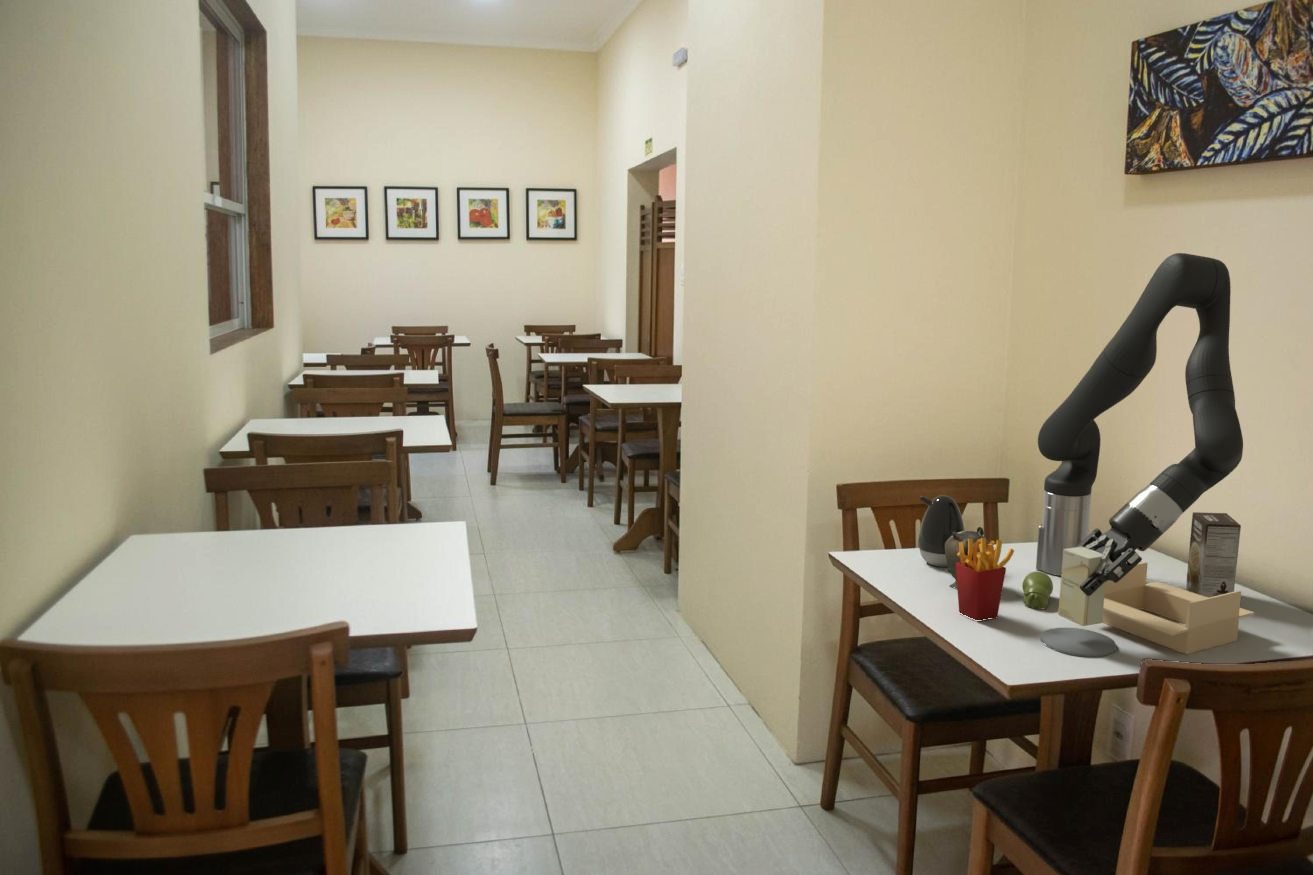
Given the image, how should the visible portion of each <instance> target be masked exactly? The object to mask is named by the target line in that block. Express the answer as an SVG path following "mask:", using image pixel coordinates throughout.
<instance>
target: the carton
mask: <svg viewBox="0 0 1313 875" xmlns="http://www.w3.org/2000/svg"><path fill="white" fill-rule="evenodd" d="M1148 565H1149V564H1148V561H1144V562H1139V563H1138V564H1137V565H1136V566H1135V567H1134V568H1133V569H1132V570H1131V571H1129V572H1128V573H1127V574H1126V575H1125V576H1124V577H1123V578H1122V579H1121V580H1119V581H1118V582H1117V583H1114V582H1113V581H1109V582H1106V583H1105V594H1104V606H1103V617H1102V623H1103V624H1106V625H1109V626H1112V627H1114V628H1116V629H1119V630H1121V631H1124V632H1127V633H1130V634H1131V635H1134V636H1137V637H1140V638H1142V639H1145V640H1148V641H1151V642H1153V643H1156V644H1158V645H1161V646H1163V647H1166V648H1169V649H1171V650H1173V651H1176V652H1179V653H1182V654H1184V655H1190V654H1194V653H1197V652H1199V651H1200V652H1201V651H1204V650H1208V649H1211V648H1215V647H1218V646H1223V645H1226V644H1227V645H1228V644H1229V643H1234V642H1237V641H1238V636H1239V635H1238V634H1239V626H1240V625H1239V622H1240V619H1242V618H1245V617H1250V616H1253V615H1255V611H1251V610H1248V609H1245V608H1241V600H1242V598H1241V597H1242V591H1241V590H1234V592H1230V593H1226V594H1222V595H1218V596H1214V597H1210V598H1208V597H1205V596H1202V595H1199V594H1196V593H1193V592H1189V591H1188V590H1187V589H1182V588H1179V587H1177V586H1173V585H1170V584H1167V583H1163V582H1161V581H1158V580H1157V581H1154V582H1153V581H1152V582H1149V583H1147V575H1148ZM1120 571H1121V568H1120V570H1119V572H1120ZM1119 572H1115V574H1118V573H1119ZM1142 609H1143V610H1146V611H1149V612H1150V613H1148V612H1146V611H1142ZM1151 613H1154V614H1157V615H1159V616H1160V617H1159V616H1157V615H1154V614H1151ZM1161 616H1162V617H1165V618H1168V619H1171V620H1168V619H1165V618H1162V617H1161ZM1172 620H1174V621H1177V622H1179V623H1182V624H1185V625H1186V626H1185V625H1182V624H1179V623H1177V622H1173V621H1172ZM1233 641H1234V642H1233Z"/></svg>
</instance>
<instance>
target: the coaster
mask: <svg viewBox="0 0 1313 875" xmlns="http://www.w3.org/2000/svg"><path fill="white" fill-rule="evenodd" d="M1041 640H1042V641H1041ZM1040 641H1041V643H1042V642H1043V643H1045V644H1046V645H1047V646H1049V647H1051V648H1053V649H1055V650H1057V651H1056V652H1058V651H1060V652H1059V653H1061V652H1062V654H1065V653H1066V654H1065V655H1069V656H1074V657H1084V658H1099V657H1105V656H1109V655H1112V654H1113V653H1114V652H1116V647H1117V645H1116V642H1115V640H1114V639H1112V638H1111V637H1109V636H1108V635H1105V634H1104V633H1103V634H1102V633H1100V632H1098V631H1094V630H1089V629H1085V628H1079V627H1053V628H1049V629H1046V630H1045V631H1043V632H1042V633H1041V634H1040ZM1043 643H1042V644H1043ZM1047 646H1046V647H1047ZM1049 647H1048V648H1049ZM1053 649H1052V650H1053ZM1055 650H1054V651H1055Z"/></svg>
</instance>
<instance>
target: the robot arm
mask: <svg viewBox="0 0 1313 875" xmlns="http://www.w3.org/2000/svg"><path fill="white" fill-rule="evenodd" d="M1231 288H1232V286H1231V277H1230V272H1229V269H1228V267H1227V265H1226V264H1225V263H1224V262H1223V261H1221V260H1220V259H1217V258H1213V257H1209V256H1203V255H1197V254H1191V253H1185V252H1177V253H1173V254H1171V255H1170V256H1167V257H1166V258H1165V259H1164V260H1163V261H1162V262H1161V263H1160V265H1159V266H1158V267H1157V268H1156V270H1155V272H1154V273H1153V275H1152V277H1151V278H1150V279H1149V281H1148V283H1147V285H1146V286H1145V288H1144V290H1143V292H1142V294H1141V295H1140V296H1139V298H1138V300H1137V302H1136V303H1135V305H1134V307H1133V308H1132V310H1130V313H1129V314H1128V316H1127V317H1126V319H1125V320H1124V321H1123V323H1122V324H1121V326H1120V327H1119V329H1118V330H1117V331H1116V333H1115V334H1114V336H1113V337H1112V338H1111V339H1110V340H1109V342H1108V343H1107V344H1106V345H1105V347H1104V348H1103V350H1102V351H1101V353H1100V354H1099V355H1098V356H1097V358H1096V359H1095V360H1094V362H1093V363H1092V365H1091V366H1090V368H1089V369H1088V370H1087V372H1086V373H1085V374H1084V376H1083V377H1082V378H1081V380H1080V381H1079V383H1077V384H1076V386H1075V388H1073V391H1071V393H1070V394H1069V395H1068V397H1066V399H1065V400H1064V401H1063V402H1061V404H1060V405H1059V406H1058V407H1057V408H1056V409H1055V410H1054V411H1053V412H1052V414H1050V415H1049V416H1048V418H1046V420H1045V421H1044V422H1043V424H1042V426H1041V427H1040V429H1039V432H1038V436H1037V447H1038V450H1039V452H1040V454H1041V455H1042V456H1043V457H1044V458H1046V459H1047V460H1049V461H1054V462H1061V463H1060V465H1059V466H1058V467H1057V468H1056V470H1054V471H1052V472H1051V473H1049V474H1048V475H1047V476H1046V477H1045V479H1044V484H1043V486H1044V487H1043V501H1042V502H1043V504H1042V505H1043V506H1042V517H1041V518H1042V519H1041V521H1042V522H1041V524H1040V525H1039V526H1038V530H1037V531H1038V532H1037V547H1036V562H1035V570H1037V571H1041V572H1043V573H1045V574H1046V573H1047V574H1050V575H1055V576H1061V574H1062V562H1063V550H1064V549H1066V548H1074V547H1080V546H1082V547H1085V548H1087V549H1090V550H1094V551H1096V552H1099V553H1102V556H1101V557H1102V558H1101V559H1100V562H1101V563H1100V565H1099V567H1098V569H1097V573H1096V572H1094V573H1093V574H1092V575H1091V576H1090V577H1089V578H1088V579H1086V580H1085V581H1084V582H1083V583H1082V584H1081V585H1080V589H1081V590H1082V591H1083V592H1084V593H1085V594H1086V595H1087V596H1090V595H1092V594H1093V593H1094V592H1095V591H1096V590H1097V589H1098V588H1099V587H1100V586H1101V585H1102V584H1103V583H1104V582H1109V581H1113V582H1114V583H1117V582H1118V581H1119V580H1121V579H1122V578H1123V577H1124V576H1125V575H1126V574H1127V573H1128V572H1129V571H1131V570H1132V569H1133V568H1134V567H1135V566H1136V565H1137V564H1138V563H1142V560H1143V558H1142V557H1141V556H1140V554H1139V553H1138V552H1137V551H1140V552H1145V551H1146V550H1148V549H1149V548H1150V547H1151V546H1152V545H1153V544H1154V543H1155V542H1156V541H1157V540H1158V539H1159V538H1160V537H1162V536H1163V534H1164V533H1165V532H1166V531H1168V530H1169V529H1171V527H1172V526H1173V525H1174V524H1175V523H1176V522H1177V521H1178V519H1179V518H1180V517H1181V516H1182V515H1183V513H1185V512H1186V511H1187V510H1188V509H1189V508H1190V507H1191V506H1192V505H1193V504H1195V502H1196V501H1198V500H1199V498H1200V497H1201V496H1202V495H1203V494H1204V493H1205V492H1207V491H1208V490H1210V489H1212V488H1213V487H1215V486H1216V485H1217V484H1218V483H1220V482H1221V481H1223V480H1224V479H1225V478H1227V476H1230V474H1231V473H1232V472H1233V471H1234V470H1235V469H1236V468H1237V467H1238V466H1239V464H1240V463H1241V461H1242V458H1243V454H1244V453H1243V451H1244V439H1243V433H1242V428H1241V425H1240V424H1241V423H1240V420H1239V417H1238V416H1239V415H1238V413H1237V409H1236V397H1235V388H1234V384H1233V378H1232V371H1231V370H1232V369H1231V364H1230V363H1231V361H1230V348H1229V347H1230V326H1231V322H1230V321H1231ZM1176 306H1177V307H1184V308H1190V309H1194V310H1195V311H1196V313H1197V314H1196V315H1197V318H1198V323H1199V332H1198V336H1197V340H1196V342H1195V344H1194V346H1193V348H1192V350H1191V352H1190V355H1189V357H1188V359H1187V362H1186V365H1185V372H1184V375H1185V376H1184V377H1185V385H1186V386H1185V387H1186V394H1187V395H1186V396H1187V400H1188V405H1189V410H1190V412H1191V415H1192V425H1193V426H1192V427H1193V434H1194V448H1193V450H1191V451H1190V452H1189V453H1188V454H1187V455H1186V456H1184V458H1183V459H1181V460H1180V461H1179V462H1178V463H1172V464H1171V465H1169V466H1167V467H1166V468H1165V469H1164V470H1163V471H1161V472H1160V473H1158V475H1157V476H1156V477H1154V479H1153V480H1152V481H1151V482H1150V483H1148V484H1147V485H1146V486H1145V487H1143V488H1142V489H1141V490H1139V491H1138V492H1137V493H1136V494H1135V495H1133V497H1131V499H1129V500H1128V501H1127V502H1126V503H1125V504H1124V505H1123V506H1122V507H1121V508H1120V509H1118V511H1117V512H1116V513H1115V514H1114V515H1113V516H1111V517H1110V518H1109V520H1108V523H1109V525H1110V527H1111V528H1110V529H1108V530H1107V531H1105V532H1102V531H1101V530H1100V529H1099V528H1098V527H1096V528H1094V529H1093V530H1092V531H1091V532H1090V533H1089V530H1090V519H1091V518H1090V517H1091V516H1090V515H1091V501H1092V500H1091V499H1092V487H1093V485H1094V483H1095V481H1096V480H1097V474H1098V467H1099V466H1098V465H1099V461H1100V453H1101V452H1100V451H1101V432H1100V431H1101V430H1100V428H1099V426H1098V423H1097V422H1096V421H1095V419H1096V418H1098V417H1099V416H1100V415H1102V414H1104V412H1107V411H1108V410H1109V409H1111V408H1112V407H1114V406H1116V405H1117V404H1118V403H1120V402H1121V401H1122V402H1123V400H1124V399H1126V398H1127V397H1129V396H1130V395H1131V394H1132V393H1133V392H1134V391H1135V390H1136V389H1137V388H1138V387H1139V386H1140V385H1141V383H1142V382H1143V380H1145V378H1147V376H1148V375H1149V374H1150V373H1151V371H1152V370H1153V367H1154V366H1155V364H1156V359H1157V351H1158V350H1157V348H1158V346H1157V345H1158V344H1157V342H1158V341H1157V338H1158V337H1157V336H1158V335H1157V333H1158V330H1159V327H1160V325H1161V324H1162V322H1163V321H1164V319H1165V318H1166V316H1167V315H1168V314H1169V313H1170V311H1171V310H1172V309H1174V308H1176ZM1136 550H1137V551H1136ZM1106 568H1107V569H1106ZM1120 568H1121V571H1120V572H1119V570H1120ZM1115 572H1119V573H1118V574H1115Z"/></svg>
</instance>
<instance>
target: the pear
mask: <svg viewBox="0 0 1313 875" xmlns="http://www.w3.org/2000/svg"><path fill="white" fill-rule="evenodd" d="M1053 590H1054V584H1053V581H1052V579H1051V577H1050V576H1049V575H1048V573H1047V574H1046V572H1044V571H1032V572H1029V573H1028V574H1027V575H1026V576H1025V577H1024V579H1023V581H1022V591H1023V595H1024V597H1023V600H1022V602H1023V604H1024V605H1025V607H1026V606H1028V607H1027V608H1032V607H1034V608H1033V609H1039V608H1044V609H1046V608H1047V607H1048V606H1049V597H1050V596H1051V595H1052V593H1053Z"/></svg>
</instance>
